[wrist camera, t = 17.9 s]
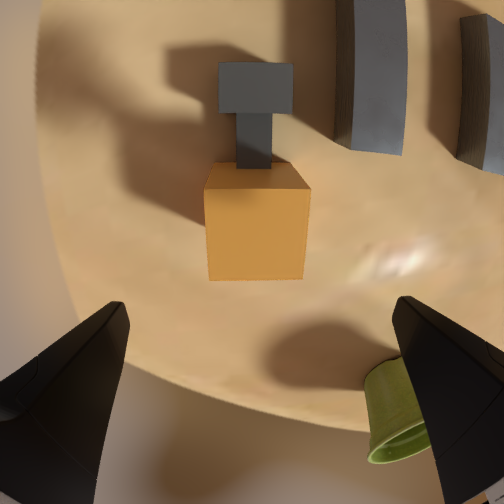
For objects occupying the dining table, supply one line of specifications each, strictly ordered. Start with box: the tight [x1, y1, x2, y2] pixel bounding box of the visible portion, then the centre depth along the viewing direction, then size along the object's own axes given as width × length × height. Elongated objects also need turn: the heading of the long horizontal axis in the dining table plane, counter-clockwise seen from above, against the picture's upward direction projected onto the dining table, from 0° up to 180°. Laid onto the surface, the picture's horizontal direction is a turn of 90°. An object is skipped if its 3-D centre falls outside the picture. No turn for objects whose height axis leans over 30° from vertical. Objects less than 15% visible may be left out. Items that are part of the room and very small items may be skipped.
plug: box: [203, 62, 311, 281], centre depth 14 cm, size 4×10×6 cm, turn 0°
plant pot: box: [364, 356, 431, 464], centre depth 23 cm, size 9×9×9 cm
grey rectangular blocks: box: [333, 0, 504, 176], centre depth 13 cm, size 16×11×3 cm
